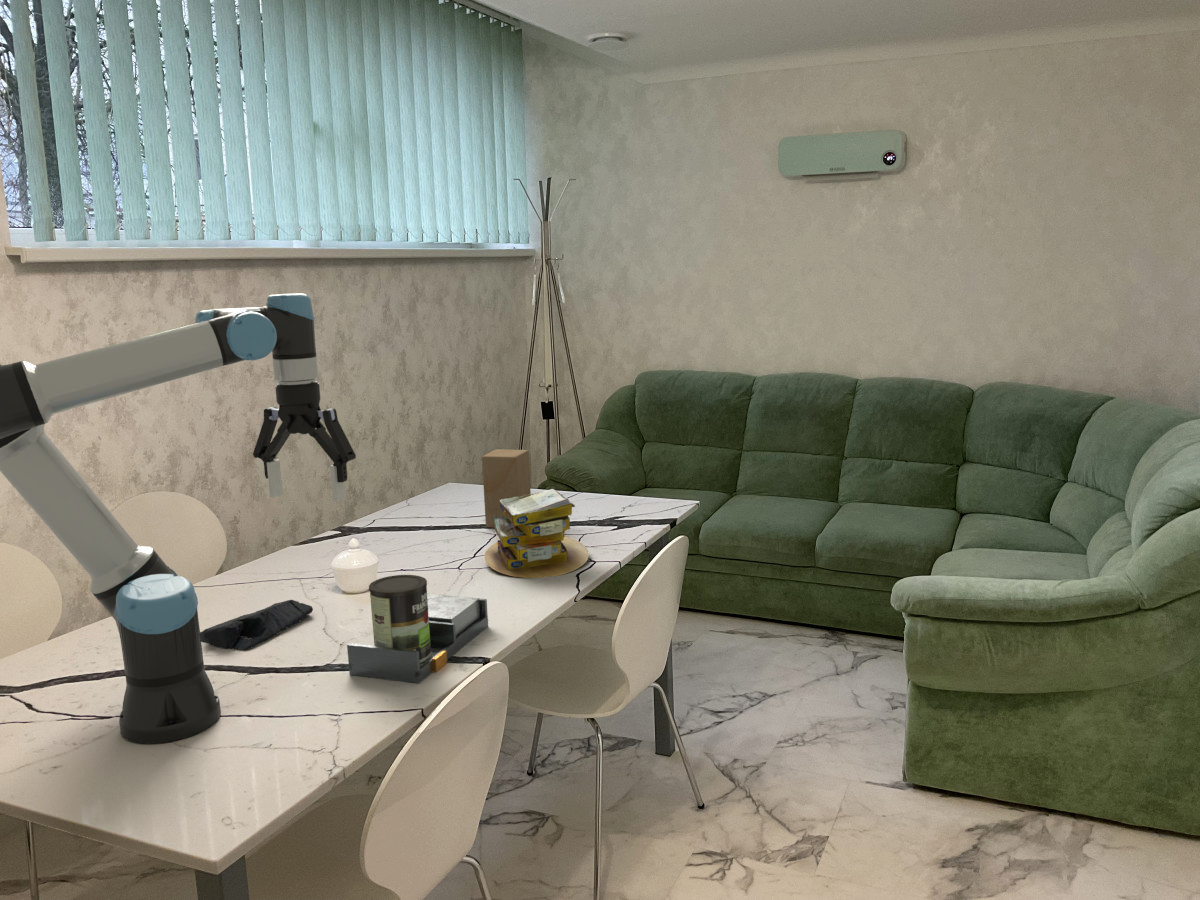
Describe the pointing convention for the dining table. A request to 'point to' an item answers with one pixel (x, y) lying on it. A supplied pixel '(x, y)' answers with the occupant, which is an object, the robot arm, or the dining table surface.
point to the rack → (448, 634)
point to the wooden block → (504, 479)
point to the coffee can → (401, 614)
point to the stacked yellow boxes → (535, 537)
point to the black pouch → (255, 626)
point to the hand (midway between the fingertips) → (307, 497)
